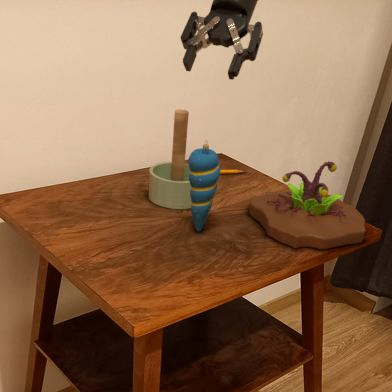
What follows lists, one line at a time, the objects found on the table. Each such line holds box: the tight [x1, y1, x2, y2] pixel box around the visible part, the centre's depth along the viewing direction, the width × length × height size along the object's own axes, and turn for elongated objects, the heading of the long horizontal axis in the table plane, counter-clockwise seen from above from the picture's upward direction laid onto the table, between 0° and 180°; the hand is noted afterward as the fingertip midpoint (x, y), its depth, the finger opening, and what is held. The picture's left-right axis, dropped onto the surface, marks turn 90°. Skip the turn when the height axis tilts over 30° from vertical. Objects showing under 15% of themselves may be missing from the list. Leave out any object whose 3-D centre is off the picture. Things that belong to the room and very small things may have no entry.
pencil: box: [220, 169, 245, 175], centre depth 112 cm, size 1×19×1 cm
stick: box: [171, 108, 190, 181], centre depth 97 cm, size 5×5×15 cm
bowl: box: [148, 161, 192, 210], centre depth 100 cm, size 10×10×5 cm
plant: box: [248, 160, 366, 251], centre depth 94 cm, size 20×20×11 cm
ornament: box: [187, 139, 221, 233], centre depth 87 cm, size 5×5×15 cm
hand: (208, 72), depth 97 cm, fingers open, 8 cm apart
